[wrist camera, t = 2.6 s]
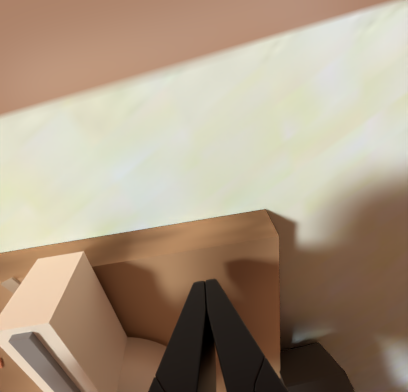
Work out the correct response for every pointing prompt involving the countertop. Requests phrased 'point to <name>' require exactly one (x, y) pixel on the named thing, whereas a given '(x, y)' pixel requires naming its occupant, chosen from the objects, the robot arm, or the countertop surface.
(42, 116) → the countertop surface
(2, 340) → the cream elongated piece
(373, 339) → the countertop surface
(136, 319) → the panel
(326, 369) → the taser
